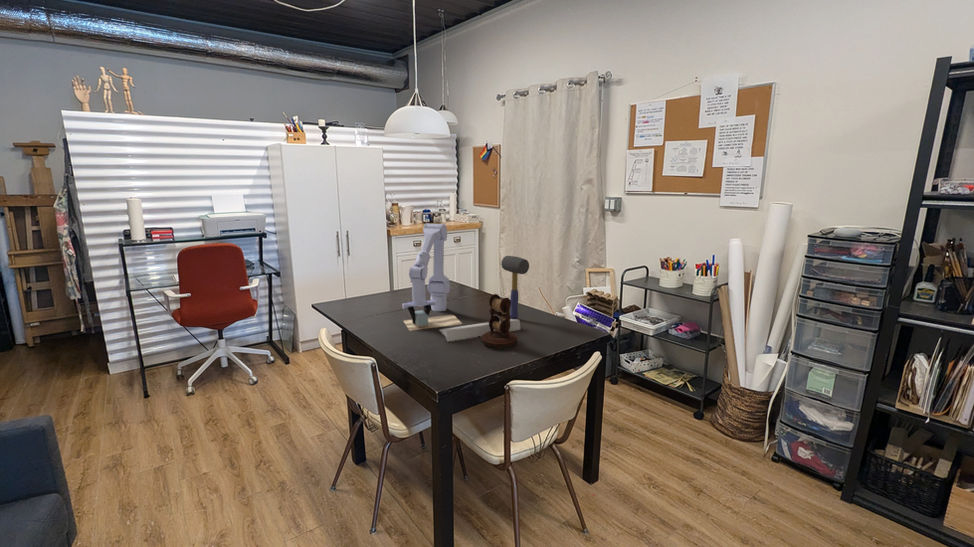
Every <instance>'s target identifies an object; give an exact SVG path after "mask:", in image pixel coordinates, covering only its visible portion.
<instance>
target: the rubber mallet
mask: <svg viewBox="0 0 974 547" xmlns="http://www.w3.org/2000/svg"><path fill="white" fill-rule="evenodd" d="M500 263H501V268H502V269H503V270H505V271H507V272H510V273H511V275H512V276H511V290H510V298H509V299H510V301H511V306H510V316H511V318H510V319H516V320H518V318H519V311H518V310H519V308H518V307H519V306H518V305H519V290H518V278H519V277H518V274H520V275H525V274H526V273H528V271H529V269H530V263H529V261H528V260H527V259H525V258H522V257H519V256H513V255H506V256H504V257H503V258H502V259H501V262H500Z"/></svg>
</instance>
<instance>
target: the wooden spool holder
mask: <svg viewBox="0 0 974 547" xmlns="http://www.w3.org/2000/svg"><path fill="white" fill-rule="evenodd" d="M510 299H511V298H509V297H504V298H503V299H501V297H500V295H499V294H497V293H493V294H492V295H491V296H490V298H489V301H488V303H489V306H490V308H489V310H488V311H489V314H490V317H489V318H490V319H489V320H488V322H489V327H490V330H491V331H489V332H487V333H485V334H483V335H482V336H480V338H481V339H480V340H481V343H483V344H484V345H487V346H491V347H496V350H499V349H500V348H501V347H510V346H513V345H516V344H518V341H519V340H518V338H519V337H518V336H517V334H516V333H513V331H511V332H509V330H510V319H511V316H510V313H511V300H510ZM494 329H495V330H494ZM493 330H494V331H493Z"/></svg>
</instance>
